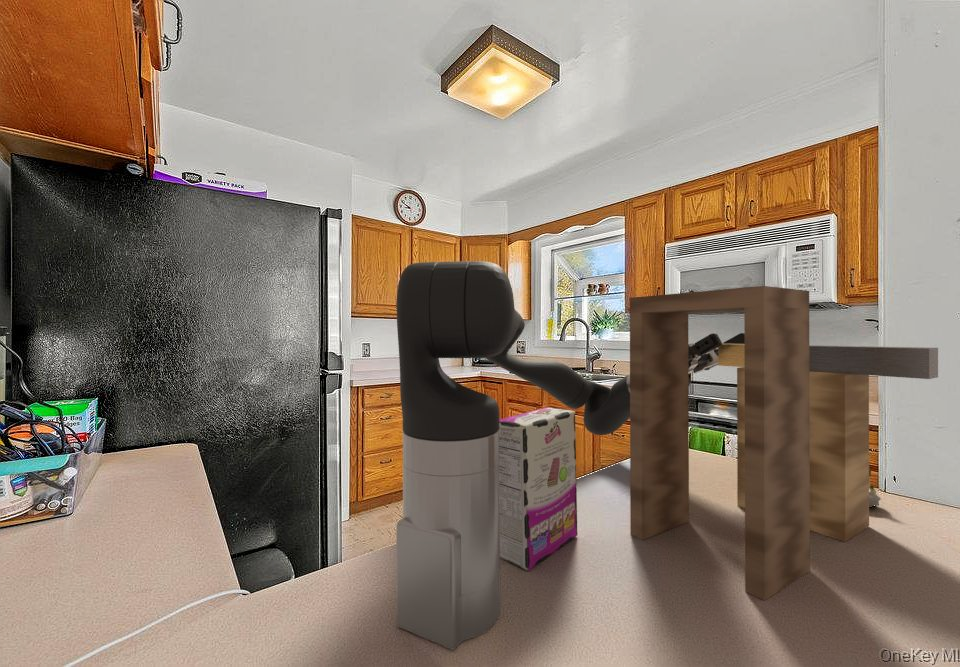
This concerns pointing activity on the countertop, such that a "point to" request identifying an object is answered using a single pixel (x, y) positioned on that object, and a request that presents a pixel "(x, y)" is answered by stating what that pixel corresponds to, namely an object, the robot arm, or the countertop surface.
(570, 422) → the candy bar box
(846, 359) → the grey and wood bar
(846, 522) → the oak block
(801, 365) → the walnut bridge
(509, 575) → the countertop surface
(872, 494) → the figurine
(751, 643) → the countertop surface
